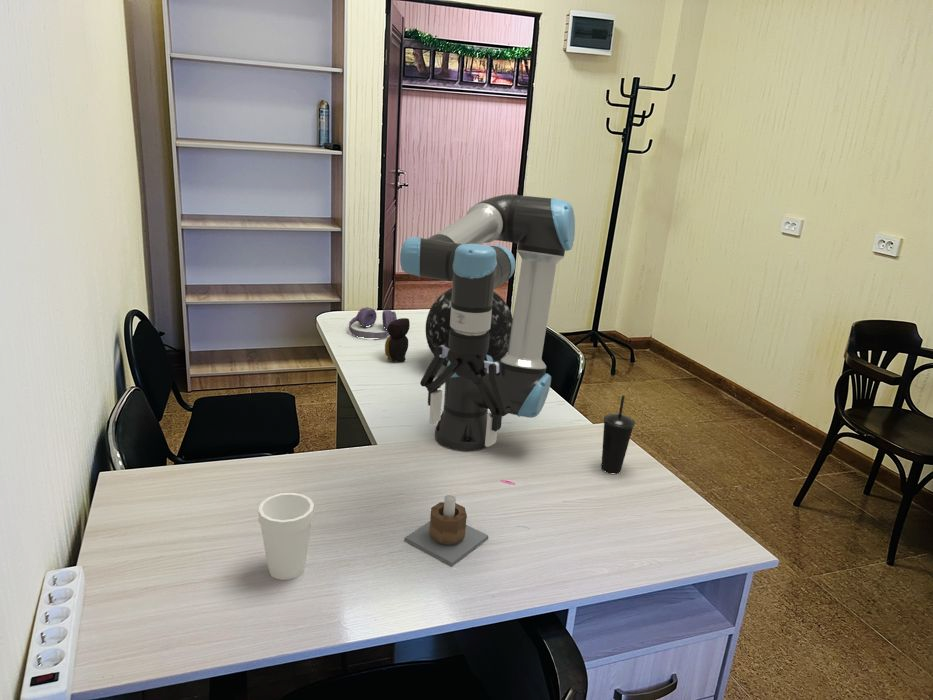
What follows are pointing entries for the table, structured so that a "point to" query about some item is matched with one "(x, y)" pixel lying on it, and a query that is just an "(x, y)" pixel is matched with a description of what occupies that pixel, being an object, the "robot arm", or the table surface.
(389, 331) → the figurine
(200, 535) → the table surface
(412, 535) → the grey peg stand
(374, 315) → the headphones
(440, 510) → the brown faceted ring
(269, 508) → the foam cup
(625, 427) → the drinking cup
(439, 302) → the globe
